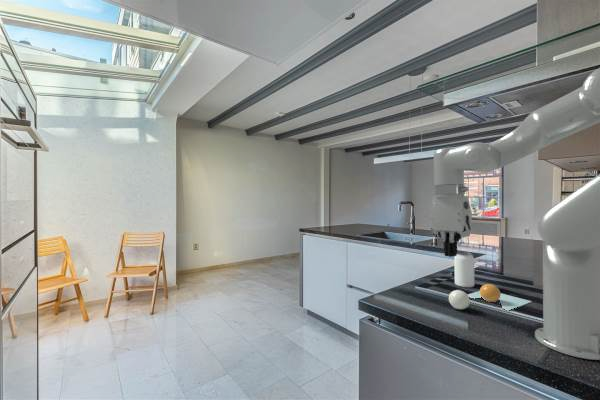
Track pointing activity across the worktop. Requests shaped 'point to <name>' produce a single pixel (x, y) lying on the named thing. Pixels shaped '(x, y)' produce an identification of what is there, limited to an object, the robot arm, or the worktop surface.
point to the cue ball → (459, 299)
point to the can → (464, 269)
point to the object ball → (490, 293)
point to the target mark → (505, 300)
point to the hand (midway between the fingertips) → (450, 255)
